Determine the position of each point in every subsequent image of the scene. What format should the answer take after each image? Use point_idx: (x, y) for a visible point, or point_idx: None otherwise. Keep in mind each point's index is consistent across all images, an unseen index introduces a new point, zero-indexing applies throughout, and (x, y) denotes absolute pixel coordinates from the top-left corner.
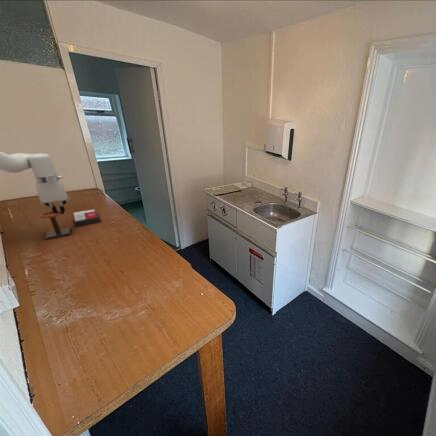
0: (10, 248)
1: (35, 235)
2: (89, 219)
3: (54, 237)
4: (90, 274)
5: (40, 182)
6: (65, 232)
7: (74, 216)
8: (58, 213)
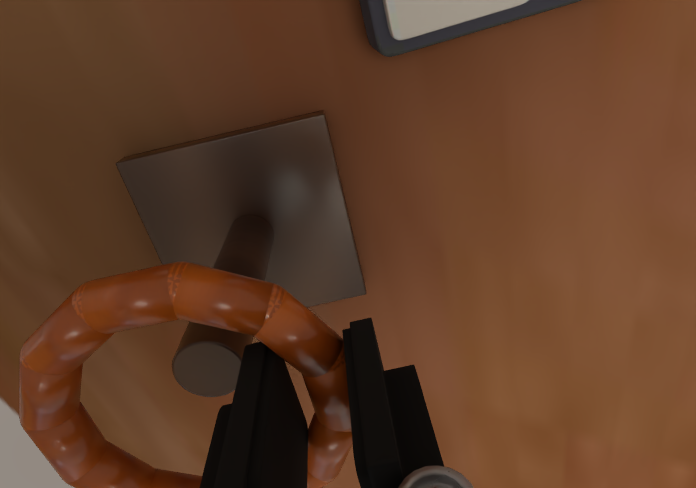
0: (8, 399)
1: (23, 183)
2: (569, 2)
3: None
4: None
5: None
6: (326, 264)
7: None
8: (335, 467)
